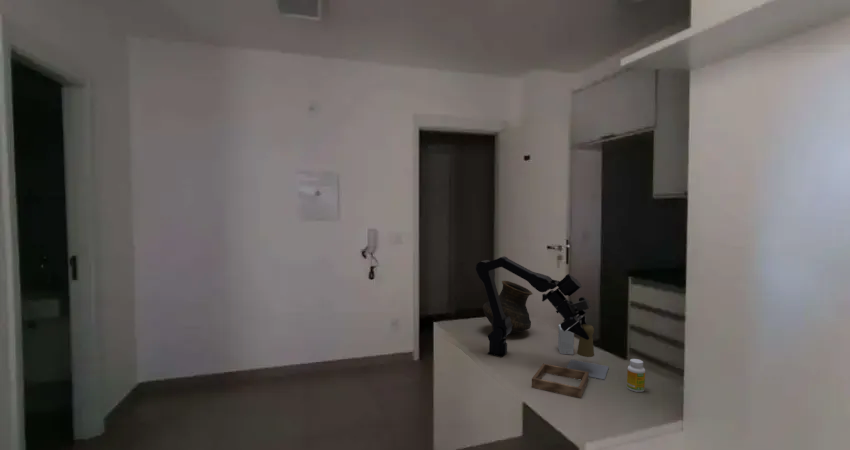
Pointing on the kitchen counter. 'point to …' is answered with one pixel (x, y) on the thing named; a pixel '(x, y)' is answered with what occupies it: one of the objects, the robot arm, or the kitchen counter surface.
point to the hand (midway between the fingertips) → (590, 337)
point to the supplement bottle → (636, 376)
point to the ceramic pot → (512, 306)
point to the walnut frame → (559, 387)
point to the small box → (565, 341)
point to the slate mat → (589, 368)
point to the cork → (586, 342)
